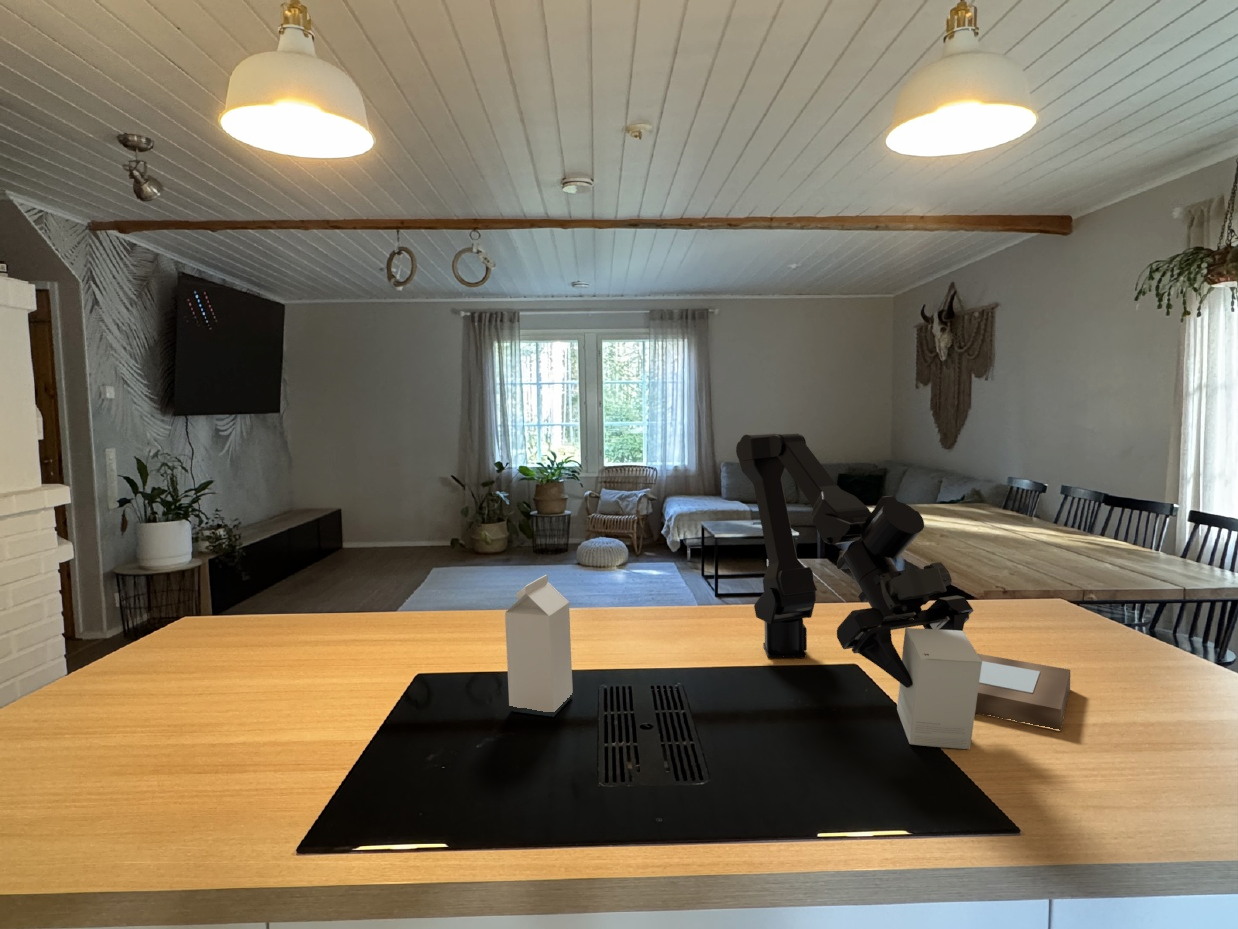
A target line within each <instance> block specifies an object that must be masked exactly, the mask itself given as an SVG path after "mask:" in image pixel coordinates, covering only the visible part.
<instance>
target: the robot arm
mask: <svg viewBox="0 0 1238 929" xmlns="http://www.w3.org/2000/svg"><path fill="white" fill-rule="evenodd" d="M735 452H736V457H737V459H738V462H739V465H740V469H741V472H742V473H743V475H745V477H747V478H748V481H750V482H751V483H752V484H753V488H754V489H753V490H754V494H755V499H756V503H757V505H756V506H757V507H758V508H757V510H758V513H759V515H758V516H759V520H760V526H761V530H762V535H763V540H764V545H765V546H764V547H765V550H766V556H767V560H768V564H767V568H766V571H765V573H764V576H763V579H762V586H763V593H761V595H760V597H759V598H758V599H757V601H756V602H755V603H754V605H753V608H754V613H755V617H756V618H757V619H759V620H761V621H763V622H764V642H763V643H762V645H763V648H764V651H765V654H766V656H767V658H771V659H773V658H775V659H776V658H777V659H780V658H781V659H783V658H787V659H789V658H790V659H791V658H793V659H794V658H796V659H797V658H798V659H799V658H803V659H804V658H806V657H807V654H806V651H807V649H808V648H807V647H808V646H807V645H808V642H807V640H808V638H807V636H808V635H807V634H808V633H807V631H808V630H807V629H808V628H807V627H806V625H805V623H804V619H807V618H808V619H810V618H812V615H813V612H814V607H815V604H816V601H817V593H816V591H818V589H817V586H816V584H815V581H814V574H813V570H812V568H811V567H810V566H808V567H807V566H806V567H805V566H804V565H803V563H802V562H801V561H800V560H799V559H798V556H797V550H796V546H795V541H794V540H795V539H794V537H793V530H792V526H791V521H790V517H789V511H788V507H787V502H786V501H787V500H786V498H785V497H786V496H785V491H784V487H783V481H782V480H783V479H782V478H783V475H784V473H785V469H786V470H787V472H788V473H789V475H790V477H791V478H792V480H793V481H794V482H795V484H796V485H797V487H798V488H799V489H800V491H801V492H802V494H803V495H804V497H805V498H806V499H807V501H808V502H809V504H810V506H811V507H812V514H811V516H812V517H811V519H812V520H811V521H812V522H813V524H814V526H815V528H816V530H817V532H818V535H819V536H820V538H821V539H822V540H823V542H824V543H826V544H828V545H841V544H847V543H848V547H846V549H845V550H840V551H839V553H838V554H839V556H838V558H837V561H836V569H837V570H847V569H849V571H850V572H851V574H852V576H853V578H854V580H855V581H856V583H857V585H858V586H859V588H860V590H861V592H860V594H859V595H858V596H857V597H858V599H859V601H860V602H861V603H867V602H868V604H869V606H870V607H867V608H862V609H861V608H859V609H854V610H851V612H850V613H849V614H848V615H847V616H846V617H845V618H844V620H843V621H842V622H841V623H840V624H839V625H838V627H837V629H836V638H837V640H838V641H839V642H838V643H839V644H840V646H841V648H842V649H843V650H849V649H851V651H852V653H853V654H859V655H860V656H862V657H864V658H865V659H866V660H868V661H870V662H871V663H873V664H874V665H876V666H877V667H879V668H880V669H881V670H883V671H884V672H885V673H886V674H888V675H889V676H891V677H892V678H893V679H894V680H896V681H897V682H898V683H899V684H900V683H901V684H902V685H904V686H905V687H906V688H909V687H911V686H912V685H913V682H912V679H911V677H910V675H909V673H908V671H907V669H906V667H905V665H904V663H903V661H902V657H900V654H899V653H898V651H897V649H896V647H895V645H894V644H893V640H892V631H895V630H899V629H900V630H903V629H905V628H915V627H918V626H919V627H921V626H922V628H923V629H939V630H958V631H964V627H965V623H967V622H968V621H969V619H970V615H971V614H972V613H973V612H974V611H975V610H974V609H973V607H972V606H971V604H970V603H969V601H968V600H967V598H966V597H964V596H960V595H951V596H944V597H939V598H937V599H936V600H935V601H934V602H933V603H932V604H931V605H929V607H928V608H927V609H922V607H923V606H925V605H927V604H928V603H929V602H930V598H929V596H932V595H936V594H938V593H940V594H944V593H946V592H947V588H946V587H947V586H950V585H951V584H952V582H953V580H952V577H951V574H950V571H949V570H948V569H947V567H946V566H945V565H944V564H943V563H942V562H941V561H938V562H932V563H930V564H928V565H927V564H926V565H924V566H923V569H922V568H921V569H915V570H911V571H908V570H899V568H897V566H896V565H895V563H894V561H893V560H892V559H897V558H899V557H900V556H901V555H902V554H903V553H904V552H905V551H906V550H907V548H908V547H909V546H910V545H911V544H912V543H913V541H915V539H916V538H917V537H918V536H919V535H920V534H921V532H922V531H923V530H924V528H925V521H924V518H923V516H922V514H921V513H920V512H919V511H918V510H915V509H914V508H913V507H912V506H910V505H909V504H906V503H904V502H901V501H898V500H897V498H896V497H895V496H894V495H889V496H887V495H886V496H880V498H879V500H878V501H877V502H876V503H877V504H876V506H874V508H873V510H872V511H871V510H870V509H869V508H868V506H867V505H865V504H864V503H863V502H862V501H861V500H860V499H859V498H858V497H857V496H855V495H854V494H851V493H850V492H847V491H846V490H843V489H841V487H840V486H838V485H837V483H836V481H834V480H833V478H832V476H831V475H830V473H828V471H827V470H826V469H825V467H824V466H823V465H822V463H821V462H820V461H819V459H818V458H817V457H816V456H815V454H814V453H813V451H812V450H811V449H810V448H809V447H808V445H807V442H806V439H805V436H803V435H802V434H800V433H796V432H792V433H791V432H790V433H788V432H787V433H775V432H773V433H771V432H770V433H752V434H751V433H749V434H747V433H746V434H744V435H742V436H741V438H740V440H739V441H738V442H737V443H736V446H735ZM849 543H850V544H849Z"/></svg>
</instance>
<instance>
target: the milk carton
mask: <svg viewBox="0 0 1238 929" xmlns="http://www.w3.org/2000/svg"><path fill="white" fill-rule="evenodd" d="M548 579H549V578H548V574H544V575H543V576H541V577H539V578H537V579H535V580H534V581H532V582H530V583H528V584H527V585H525V586H524V587H523V588H521V589H520V590H519V591H517V593H516V594H515V597H516V599H517V601H516V602H514V604H512V605H511V606H510V607H509V608H508V609H507V610H506V611H505V612H504V622H505V642H506V644H505V645H506V662H507V663H506V666H507V683H508V684H507V685H508V686H507V687H508V688H507V689H508V706H513V707H517V708H527V709H532V710H537V711H543V712H555V711H556V710H557V709H558V708H559V707H560V706H561V705H562V704H563V702H565V701H566V700H567V698H569V697H570V695H572V693H573V690H574V689H573V672H572V670H573V669H572V667H573V666H572V643H571V641H572V640H571V621H570V620H571V617H570V601H569V600H568V599H566V597H564V595H563V594H561V592H559V590H557V589H556V588H555V587H554V585H552V584H551V583H550V582H549V581H548ZM573 694H574V693H573Z"/></svg>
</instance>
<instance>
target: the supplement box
mask: <svg viewBox="0 0 1238 929" xmlns="http://www.w3.org/2000/svg"><path fill="white" fill-rule="evenodd" d="M902 644H903V645H902V654H901V655H902V657H901V660H902V661H903V663H904V665H905V667H906V669H907V671H908V673H909V675H910V677H911V679H912V682H913V685H912V686H911V687H909V688H906V687H905V686H904V685H902V684H901V683H900V682H899V686H898V694H897V695H898V696H897V703H896V704H897V705H896V710H897V713H898V717H899V719H900V723H901V725H902V727H903V730H904V734H905V736H906V738H907V740H908V743H909V745H913V746H924V747H925V746H926V747H934V748H936V747H937V748H948V749H949V748H950V749H957V750H958V749H959V750H970V748H971V744H972V737H973V730H974V722H975V714H976V713H975V709H976V702H977V694H978V687H979V680H980V673H981V666H982V660H981V659H980V657H979V656H978V654H979V653H977V651H976V649H975V648H974V645H972V643H971V641H970V640H969V638H968V637H967V635H966V633H965V631H964V630H963V631H958V630H939V629H925V628H915V627H908V628H904V636H903V643H902Z"/></svg>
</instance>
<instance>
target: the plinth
mask: <svg viewBox="0 0 1238 929" xmlns="http://www.w3.org/2000/svg"><path fill="white" fill-rule="evenodd" d="M977 654H978V656H979V657H980V659H981V660H982V666H981V673H980V680H979V687H978V694H977V702H976V709H975V712H976V713H975V714H977V713H979V714H978V715H981V714H984V715H983V716H986V715H991V716H995V717H999V718H1003V719H1002V720H1004V719H1011V720H1015V721H1017V722H1016V723H1018V722H1025V723H1030V724H1033V725H1039V726H1045V727H1050V728H1053V729H1059V730H1061V731H1062V727H1063V723H1062V722H1064V719H1063V717H1064V718H1065V714H1064V712H1065V713H1066V710H1065V708H1066V709H1067V705H1068V701H1067V699H1068V700H1069V697H1068V695H1069V696H1070V692H1071V669H1069V668H1063V667H1059V666H1058V667H1057V666H1051V665H1046V664H1040V663H1035V662H1029V661H1023V660H1017V659H1009V658H1007V657H1006V658H1004V657H999V656H994V655H988V654H983V653H977ZM1069 691H1070V692H1069ZM1066 704H1067V705H1066ZM995 717H994V718H995ZM999 718H998V719H999ZM1061 726H1062V727H1061Z"/></svg>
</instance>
